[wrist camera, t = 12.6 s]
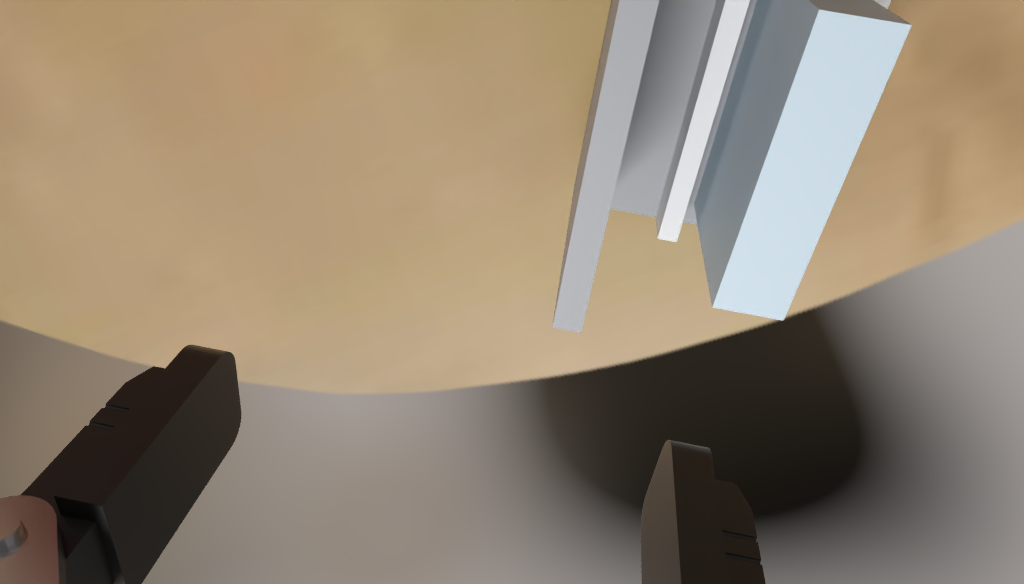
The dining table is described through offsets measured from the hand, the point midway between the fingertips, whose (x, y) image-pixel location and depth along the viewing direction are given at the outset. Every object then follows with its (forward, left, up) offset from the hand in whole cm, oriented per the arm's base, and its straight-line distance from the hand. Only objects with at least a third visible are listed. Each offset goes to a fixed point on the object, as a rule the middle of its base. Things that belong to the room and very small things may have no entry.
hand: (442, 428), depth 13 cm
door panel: (0, +10, -26) cm, 28 cm away
